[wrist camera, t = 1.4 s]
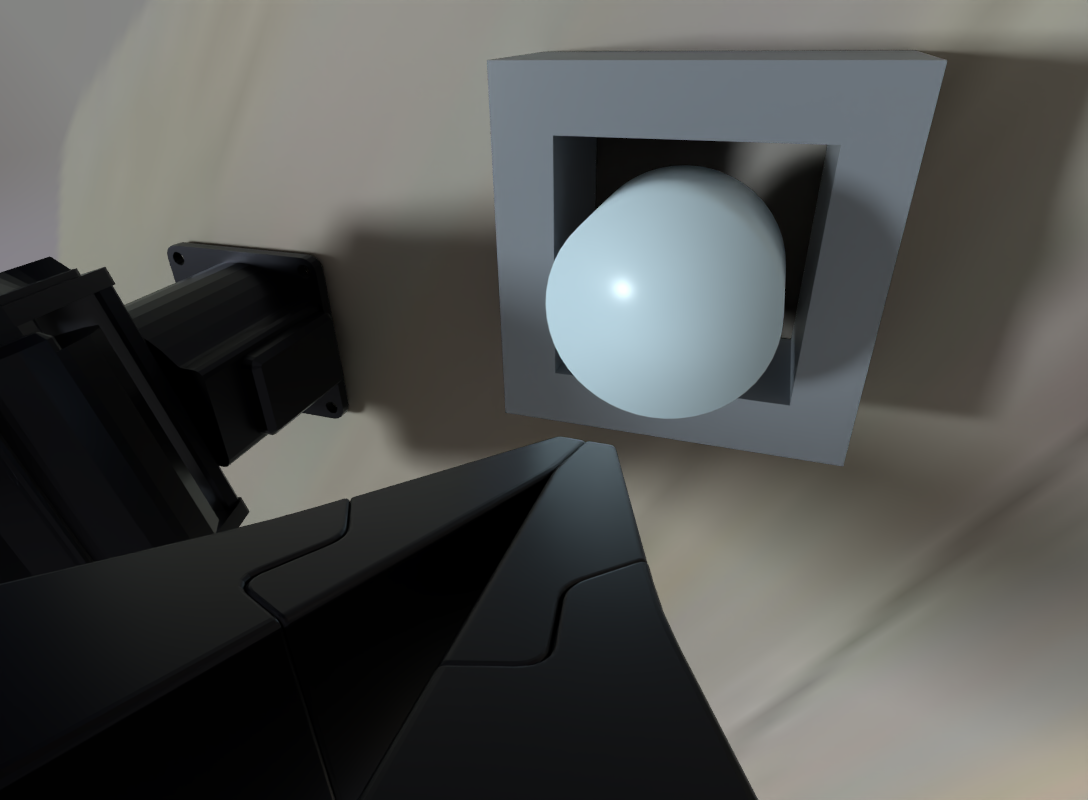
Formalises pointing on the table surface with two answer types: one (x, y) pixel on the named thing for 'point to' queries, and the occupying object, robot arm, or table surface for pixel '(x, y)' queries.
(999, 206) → the table surface
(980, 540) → the table surface
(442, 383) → the table surface
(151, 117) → the table surface
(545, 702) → the robot arm
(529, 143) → the button box
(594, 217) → the button
